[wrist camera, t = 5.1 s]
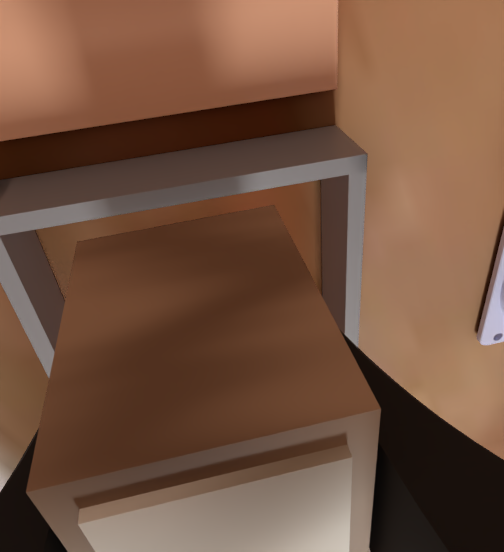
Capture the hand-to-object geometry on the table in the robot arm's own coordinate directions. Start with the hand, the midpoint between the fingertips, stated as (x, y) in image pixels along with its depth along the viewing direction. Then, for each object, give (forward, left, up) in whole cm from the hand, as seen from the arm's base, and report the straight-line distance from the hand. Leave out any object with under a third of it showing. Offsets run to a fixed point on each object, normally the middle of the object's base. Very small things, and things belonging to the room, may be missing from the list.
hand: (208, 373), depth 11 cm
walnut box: (0, 0, -2) cm, 2 cm away
